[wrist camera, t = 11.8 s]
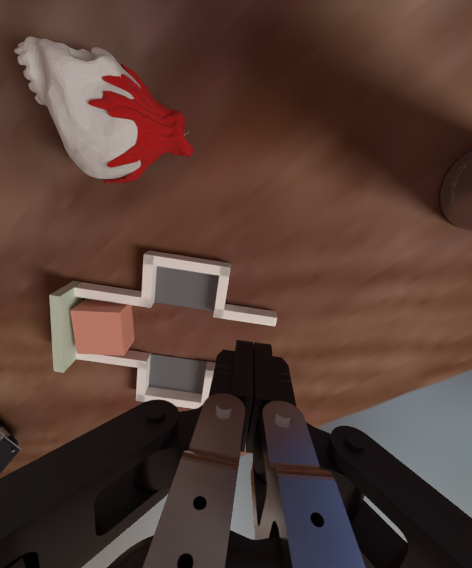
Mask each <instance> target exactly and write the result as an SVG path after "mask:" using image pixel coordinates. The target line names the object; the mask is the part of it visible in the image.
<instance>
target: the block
mask: <svg viewBox="0 0 472 568" xmlns="http://www.w3.org/2000/svg"><path fill="white" fill-rule="evenodd" d="M70 313H71V319H72V325H73V331H74V338H75V344H76V350H77V354H96V355H119V356H124V355H125V354H126V352H127V351H128V349H129V348H130V346H131V345H132V343H133V342H134V329H133V317H132V305H128V304H122V303H115V302H108V301H101V300H95V299H85V300H83V301H82V302H81V303H79V304H78V305H77V306H76V307H74V308H73V309H72V310H70Z"/></svg>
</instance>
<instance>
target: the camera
mask: <svg viewBox="0 0 472 568" xmlns="http://www.w3.org/2000/svg"><path fill="white" fill-rule="evenodd" d="M20 450H21V448H20V447H18V441H17V440H16V439H15V438H14V437H13V436H12V435H11V434H10V433H9V432H8V431H7V430H6V429H5V427H3V426H1V425H0V473H1V472H2V471H3V470H4V469H5V467H6V466H7V465H8V464H9V463H10V462H11V460H12V459H13V458H14V457H15V456H16V454H17V453H18V452H19V451H20Z"/></svg>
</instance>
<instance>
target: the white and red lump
mask: <svg viewBox="0 0 472 568" xmlns="http://www.w3.org/2000/svg"><path fill="white" fill-rule="evenodd" d="M14 51H15V53H16V54H18V55H19V56H18V57H17V58H18V63H19V64H20V65H25V66H26V69H25V70H24V71H23V73H24V76H25V78H26V79H27V80H30V81H31V82H30V83H29V84H28V85H29V89H30V90H31V91H32V92H35V93H36V96H35V97H34V98H35V100H36V101H37V102H38V103H39V104H41V105H46V106H47V107H48V110H49V113H50V115H51V117H52V119H53V121H54V123H55V126H56V128H57V130H58V132H59V135H60V137H61V140H62V142H63V145H64V147H65V149H66V151H67V153H68V155H69V157H70V158H71V159H72V160H73V161H74V162H75V164H76V165H77V166H78V167H79V168H80V169H81V170H82V171H83V172H84V173H86V174H87V175H89V176H91V177H95V178H99V179H106V180H104V183H125V182H129V181H134V180H136V179H137V178H139V177H140V176H141V174H142V173H143V172H144V171H145V170H146V168H147V167H148V166H149V165H150V164H152V163H153V162H154V161H156V160H157V159H158V158H159V157H160V156H161V155H163V154H165V153H168V152H171V153H172V154H173V155H181V156H187V157H189V156H191V154H192V153H193V150H194V149H193V147H192V146H191V145H190V143H189V142H188V141H187V140H186V135H187V134H188V133H189V131H187V132H186V133H185V128H184V125H185V117H184V116H183V114H182V113H181V112H179V111H175V110H170V109H167V108H166V107H164V106H163V105H161V104H160V103H159V102H157V101H156V100H155V99H154V98H153V97H152V95H151V93H150V91H149V90H148V88H147V87H146V86H145V85H144V84H143V82H142V81H141V80H140V79H139V77H138V76H137V74H136V73H135V72H134V71H132V70H130V69H129V68H127V67H126V66H124V65H123V64H121V63H120V64H121V66H120V64H119V63H118V62H117V61H116V60H115V58H114V57H113V56H112V54H110V53H109V52H107V51H105V50H104V49H102V48H99V47H93V48H92V50H91V53H90V52H89V51H87V50H85V49H81V50H75V49H73V48H70V47H68V46H67V45H65V44H63V43H57V42H53V41H51V40H48V39H38V38H34V37H31V36H30V37H27V38H26V39H25V42H21V43H19V44H18V48H16V49H15V50H14Z"/></svg>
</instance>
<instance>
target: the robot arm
mask: <svg viewBox="0 0 472 568" xmlns="http://www.w3.org/2000/svg"><path fill="white" fill-rule="evenodd" d="M440 204H441V209H442V211H443V214H444V216H445V217H446V218H447V219H448V221H449V222H451V223H452V224H453V225H455V226H457V227H459V228H462V229H466V230H471V231H472V150H471V151H469V152H468V153H466V154H465V155H463V156H462V157H461V158H460V159H459V160H458V161H457V162H456V163H455V164H454V165H453V166H452V167H451V169H450V170H449V171H448V173H447V175H446V177H445V179H444V181H443V184H442V187H441V191H440ZM245 443H246V452H249V453H253V465H252V470H251V486H252V499H253V514H254V528H255V540H251V539H249V538H246V537H244V536H242V535H240V534H237V533H235V532H233V531H231V530H230V525H231V517H232V510H233V502H234V495H235V487H236V481H237V473H238V466H239V459H240V453H241V452H244V449H245ZM168 493H169V494H168ZM167 494H168V497H167V500H166V502H165V505H164V508H163V511H162V514H161V517H160V520H159V522H158V526H157V528H156V531H155V534H154V535H153V536H151V537H148V538H146V539H144V540H142V541H140V542H139V543H137V544H135V545H134V546H132V547H130V548H129V549H128V550H127V551H125V552H124V553H123V554H121V555H120V556H119V557H118V558H117V559H116V560H115V561H114V562H113V563H112V564H111V565H110V566H109V567H107V568H472V518H471V517H469V516H468V515H467V514H466V513H464V512H463V511H462V510H460V509H459V508H458V507H457V506H456V505H454V504H453V503H452V502H451V501H449V500H448V499H447V498H445V497H444V496H443V495H442V494H440V493H439V492H438V491H437V490H436V489H434V488H433V487H432V486H431V485H429V484H428V483H427V482H425V481H424V480H423V479H422V478H421V477H419V476H418V475H417V474H415V473H414V472H413V471H412V470H410V469H409V468H408V467H407V466H405V465H404V464H403V463H402V462H400V461H399V460H398V459H396V458H395V457H394V456H393V455H392V454H390V453H389V452H388V451H387V450H385V449H384V448H383V447H381V446H380V445H379V444H378V443H377V442H375V441H374V440H373V439H372V438H370V437H369V436H368V435H367V434H365V433H364V432H362V431H360V430H358V429H356V428H353V427H349V426H339V427H336V428H335V429H334V430H333V431H332V433H331V434H329V433H327V432H325V431H322V430H319V429H317V428H315V427H313V426H311V425H310V424H308V423H307V422H306V421H305V418H304V415H303V414H302V412H301V411H300V410H299V409H298V408H297V407H296V403H295V397H294V392H293V387H292V382H291V377H290V372H289V367H288V365H287V363H286V362H285V361H284V360H283V358H281V357H273V356H272V348H271V344H263V343H256V342H254V346H253V342H248V341H241V340H237V342H236V349H235V351H229V350H222V351H221V352H220V353H219V354H218V355H217V358H216V363H215V368H214V373H213V378H212V382H211V387H210V392H209V397H208V398H207V399H206V400H205V402H204V404H203V405H202V406H200V407H199V408H196V409H194V410H189V411H182V412H178V409H177V408H176V406H175V405H174V404H172V403H171V402H169V401H166V400H158V399H157V400H150V401H147V402H144V403H142V404H140V405H138V406H136V407H135V408H133V409H131V410H129V411H127V412H125V413H123V414H121V415H119V416H118V417H116V418H114V419H112V420H110V421H108V422H106V423H104V424H102V425H101V426H99V427H97V428H95V429H93V430H91V431H89V432H87V433H86V434H84V435H82V436H80V437H78V438H76V439H74V440H72V441H70V442H69V443H67V444H65V445H63V446H61V447H59V448H57V449H55V450H53V451H52V452H50V453H48V454H46V455H44V456H42V457H40V458H38V459H36V460H35V461H33V462H31V463H29V464H27V465H25V466H23V467H21V468H20V469H18V470H16V471H14V472H12V473H10V474H8V475H6V476H4V477H3V478H1V479H0V568H81V567H82V566H84V565H85V564H86V563H87V562H88V561H90V560H91V559H92V558H93V557H94V556H96V555H97V554H98V553H99V552H100V551H101V550H103V549H104V548H105V547H106V546H107V545H109V544H110V543H111V542H112V541H113V540H114V539H116V538H117V537H118V536H119V535H120V534H121V533H123V532H124V531H125V530H126V529H127V528H129V527H130V526H131V525H132V524H133V523H135V522H136V521H137V520H138V519H139V518H140V517H142V516H143V515H144V514H145V513H146V512H147V511H149V510H150V509H151V508H152V507H153V506H155V505H156V504H157V503H158V502H159V501H160V500H162V499H163V498H164V497H165V496H166V495H167ZM364 496H366V497H367V498H368V499H370V501H371V502H372V503H374V505H375V506H377V507H378V508H379V509H380V510H381V511H382V512H383V513H384V514H385V515H386V516H387V517H388V518H389V519H390V520H391V521H392V522H393V523H394V524H395V525H396V526H397V527H398V528H399V529H400V530H401V532H402V533H403V534H404V536H405V538H406V539H407V542H408V543H407V542H405V541H404V540H403V539H402V538H401V537H400V536H399V535H398V534H397V533H396V532H395V531H394V530H393V529H392V528H391V527H390V526H389V525H388V524H387V523H386V522H385V521H384V520H383V519H382V518H381V517H380V516H379V515H378V514H377V513H376V512H375V511H374V510H373V509H372V508H371V507H370V506H369V505H368V504H367V503H366V502H365V501H364V500H363V499H364Z"/></svg>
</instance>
